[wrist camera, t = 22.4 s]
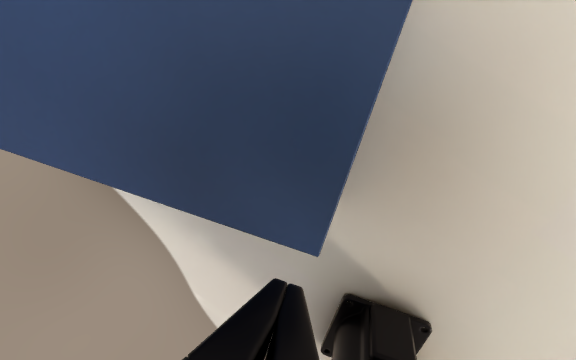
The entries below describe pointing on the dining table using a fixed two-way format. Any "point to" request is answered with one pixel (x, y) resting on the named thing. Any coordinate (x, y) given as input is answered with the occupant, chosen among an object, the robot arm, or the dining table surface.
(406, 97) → the dining table surface
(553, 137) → the dining table surface
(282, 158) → the lunchbox lid
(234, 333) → the robot arm
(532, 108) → the dining table surface
